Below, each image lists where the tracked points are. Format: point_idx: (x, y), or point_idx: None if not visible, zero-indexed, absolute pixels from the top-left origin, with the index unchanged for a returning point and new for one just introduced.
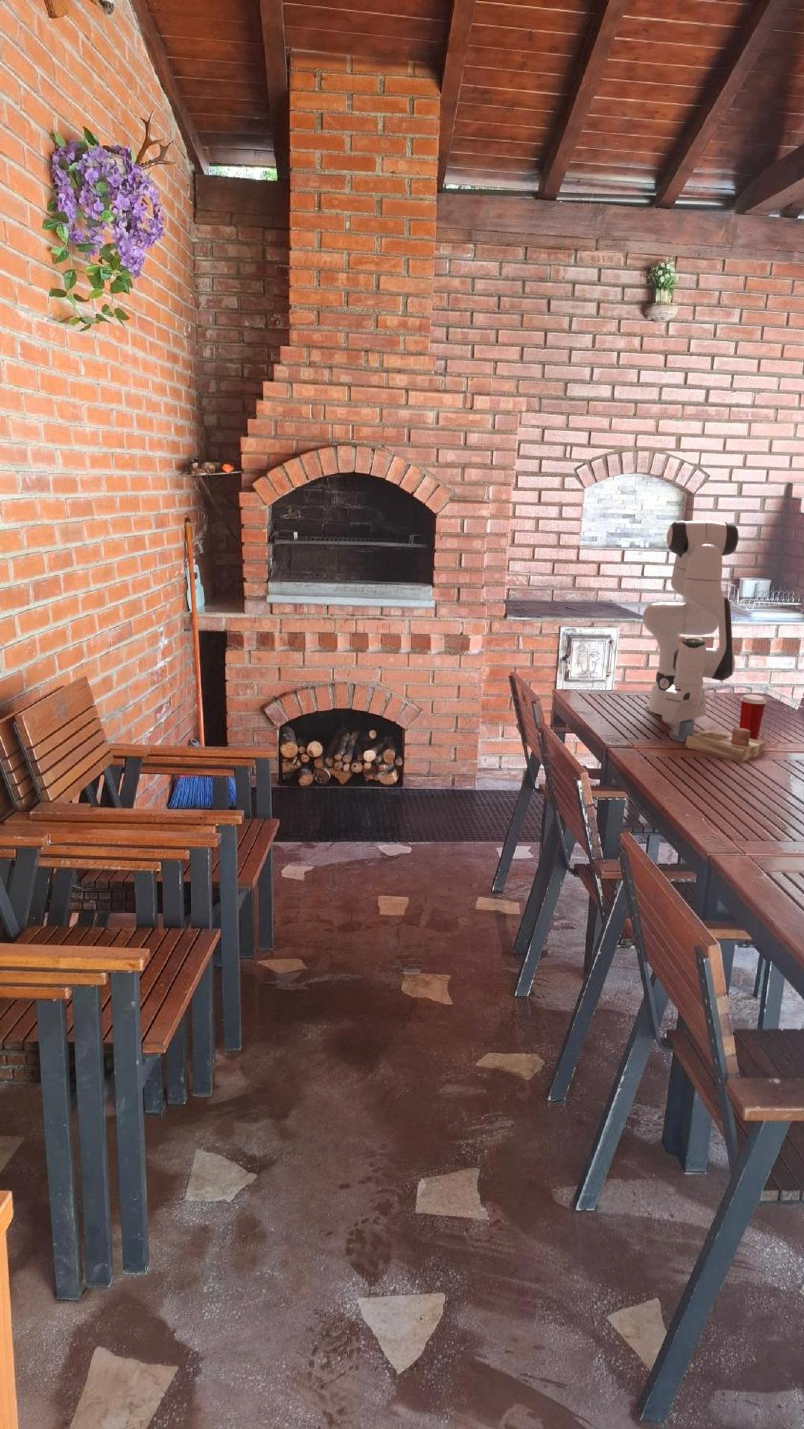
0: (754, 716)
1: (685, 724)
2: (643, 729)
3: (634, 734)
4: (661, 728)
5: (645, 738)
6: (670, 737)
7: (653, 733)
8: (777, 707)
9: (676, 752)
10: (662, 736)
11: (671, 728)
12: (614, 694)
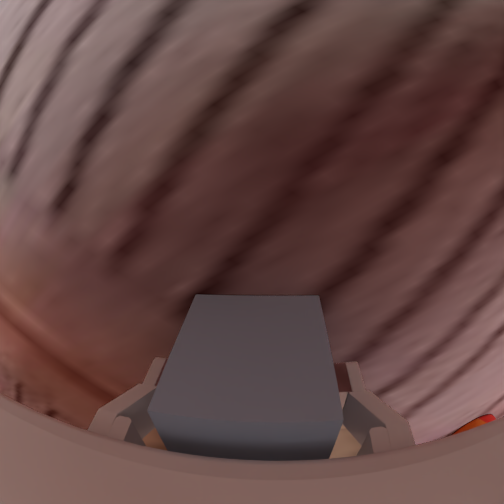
0: None
1: None
2: (232, 8)
3: (52, 89)
4: (411, 88)
5: (45, 196)
6: (195, 301)
7: (194, 132)
8: None
9: (63, 393)
10: (186, 233)
11: (173, 349)
12: None
